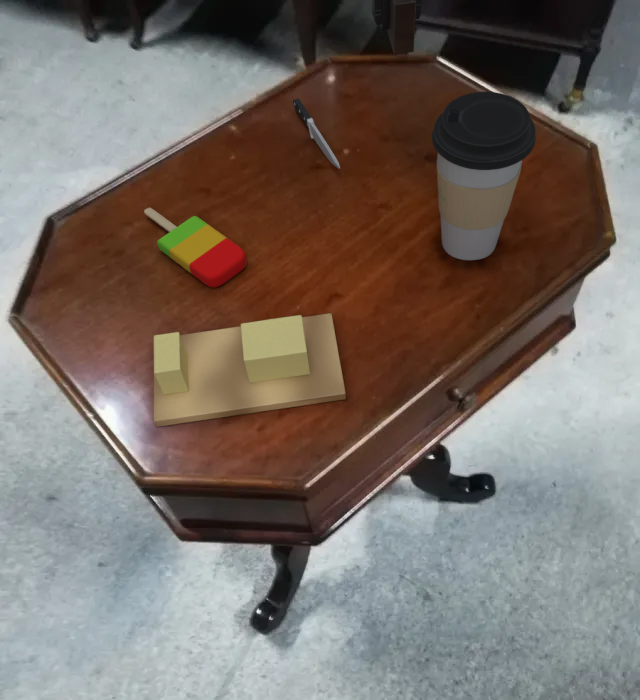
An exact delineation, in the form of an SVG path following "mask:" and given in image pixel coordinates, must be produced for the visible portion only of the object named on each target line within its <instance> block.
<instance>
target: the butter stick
mask: <svg viewBox="0 0 640 700" xmlns="http://www.w3.org/2000/svg"><path fill="white" fill-rule="evenodd" d="M302 317H303V316H302V314H298V315H290V316H285V317H284V316H283V317H277V318H269V319H264V320H263V319H262V320H255V321H249V322H242V323H240V326H241V334H242V345H243V357H244V363H245V367H246V371H247V375H248V378H249V382H250V383H253V382H260V381H267V380H274V379H281V378H287V377H294V376H301V375H308V374H310V369H309V362H308V355H307V348H306V342H305V335H304V328H303V321H302Z"/></svg>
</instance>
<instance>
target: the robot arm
mask: <svg viewBox="0 0 640 700" xmlns="http://www.w3.org/2000/svg"><path fill="white" fill-rule="evenodd" d="M415 1H416V11H415V21H416V20H419V19H420V18H421V16H422V5H423V0H415ZM371 14H372V17H373V20H374V22H375V25H376V26H379V27H380V30H381V31H387V30H388V28H389V0H371Z"/></svg>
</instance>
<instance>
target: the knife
mask: <svg viewBox="0 0 640 700" xmlns="http://www.w3.org/2000/svg"><path fill="white" fill-rule="evenodd" d="M292 104H293V108H294V110H295V112H297V113H298V115H299V116H300V118H301V119H302V121H303V122H304V123H305V125H306V126H307V127H308V131H309V136H310V138H311V139H313V140H314V141H315V142H316V144H317V145H318V147H319V148H320V150H321V152H322V153H323V154H324V156H326V158H327V160H328V161H329V162H330V163H331V164H332V165H333V166H334V167H336V168H337V169H341V166H340V162H339V161H338V159H337V157H336V156H335V154H334V152H333V151H332V149H331V148H330V146H329V144H328V143H327V141H326V139H325V138H324V137H323V135H322V134H321V132H320V131H319V129H318V127H317V126H316V124H315V121H314V119H313V118H312V116H311V114H310V113H309V111H308V110H307V108H306V107H305V105H304V103H303V102H302V101H301V99H300V98H294V99H293V100H292Z"/></svg>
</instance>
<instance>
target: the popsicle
mask: <svg viewBox="0 0 640 700" xmlns="http://www.w3.org/2000/svg"><path fill="white" fill-rule="evenodd" d="M143 213H144V215H146V216H147V217H148V218H150V219H151V220H152V221H153V222H155V223H156V224H157V225H159V226H160V227H162V228H163V229H164V230H165V231H167V232H168V233H166V234H165V235H163V236H162V237H160V238H159V239H158V240H157V241H156V244H157V247H158V249H159V250H160V251H161V252H162V253H163V254H165V255H166V256H167V257H169V258H170V259H172V261H174V262H175V263H176V264H178V265H179V266H180V267H182V268H183V269H184V270H186V271H187V272H188V273H190V274H191V275H192V276H194V277H195V278H196V279H198V280H199V281H200V282H202V283H203V284H204V285H205V286H207V287H209V288H219V287H220V286H222V285H224V284H225V283H227V282H228V281H230V280H231V279H232V278H233V277H234V276H236V275H237V274H239V273H240V272H242V271H243V270H244V269H245V267H246V266H247V255H246V252H245V250H244V249H243V248H242V247H241V246H240V245H238V244H236V242H233V241H232V240H231V239H230V238H228V237H226V236H225V235H224V234H222V233H221V232H219V231H218V230H217V229H216V228H214V227H213V226H211V225H209V224H208V223H207V222H205V221H204V220H203V219H201V218H200V217H198V216H197V215H192V216H191V217H189V218H188V219H187V220H185V221H184V222H182V223H180V225H178V226H177V225H175V224H174V223H172V222H171V221H170V220H169V219H167V218H166V217H164V216H163V215H161V214H160V213H159V212H157V211H156V210H155V209H153V208H152V207H146V208H145V209H144V210H143Z"/></svg>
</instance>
